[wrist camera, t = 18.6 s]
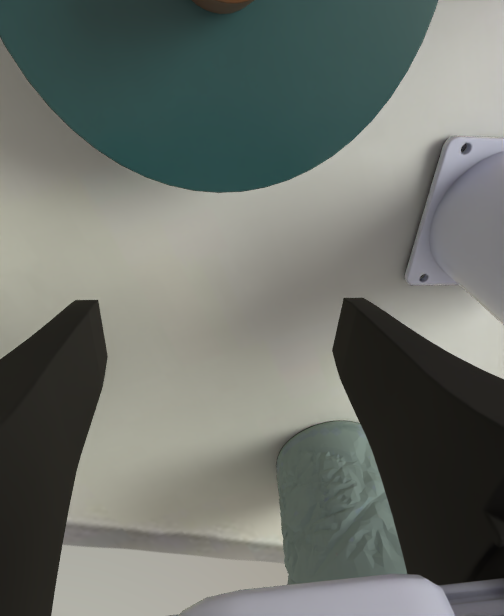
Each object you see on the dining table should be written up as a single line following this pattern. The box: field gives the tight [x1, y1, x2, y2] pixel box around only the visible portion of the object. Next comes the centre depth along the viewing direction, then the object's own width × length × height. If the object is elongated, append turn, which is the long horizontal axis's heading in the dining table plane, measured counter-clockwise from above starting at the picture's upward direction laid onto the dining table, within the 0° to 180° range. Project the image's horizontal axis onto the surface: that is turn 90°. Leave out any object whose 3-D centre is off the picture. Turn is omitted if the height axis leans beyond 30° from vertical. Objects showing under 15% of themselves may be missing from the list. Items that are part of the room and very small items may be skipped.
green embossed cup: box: [276, 421, 407, 585], centre depth 27 cm, size 10×10×12 cm
